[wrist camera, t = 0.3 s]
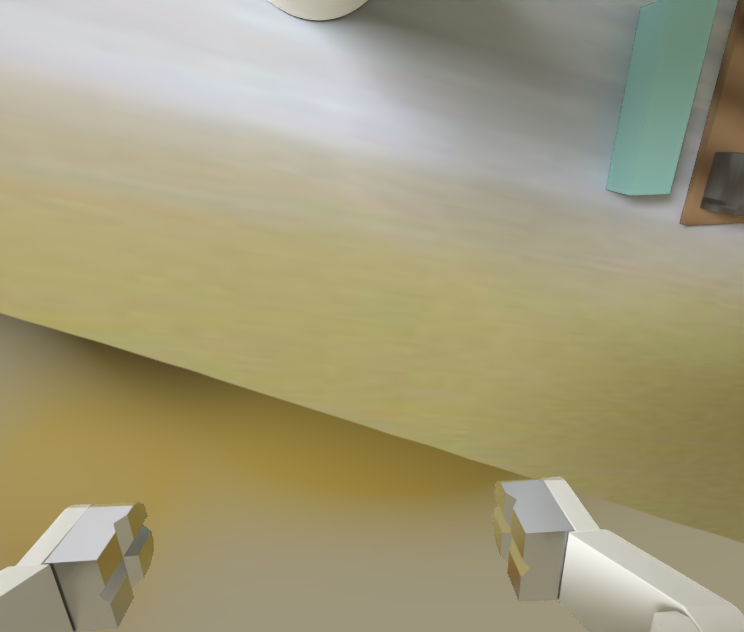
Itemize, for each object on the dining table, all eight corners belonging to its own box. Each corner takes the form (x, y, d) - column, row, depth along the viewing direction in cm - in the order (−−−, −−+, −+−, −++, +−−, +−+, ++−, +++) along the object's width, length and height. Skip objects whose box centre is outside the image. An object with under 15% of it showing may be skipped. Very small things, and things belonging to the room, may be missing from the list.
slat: (638, 8, 39) (672, -6, 35) (681, 7, 39) (720, -7, 35) (604, 189, 45) (629, 195, 41) (641, 187, 45) (669, 193, 41)
